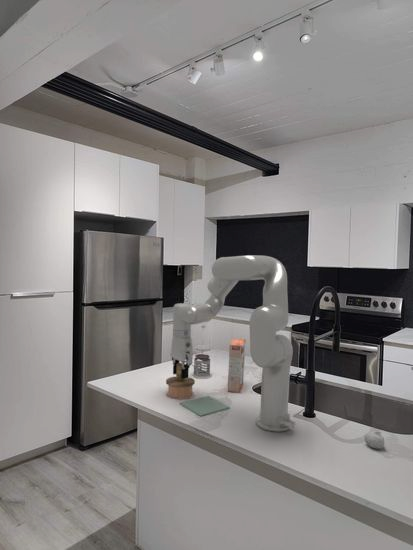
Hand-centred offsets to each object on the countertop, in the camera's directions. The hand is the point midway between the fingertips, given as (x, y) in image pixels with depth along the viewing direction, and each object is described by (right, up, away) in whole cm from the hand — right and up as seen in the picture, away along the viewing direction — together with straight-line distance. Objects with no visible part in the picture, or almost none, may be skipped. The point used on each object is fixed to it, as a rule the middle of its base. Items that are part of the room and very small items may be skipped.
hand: (180, 375), depth 161 cm
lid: (0, -3, 0) cm, 3 cm away
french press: (+8, -7, +26) cm, 28 cm away
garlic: (+64, -12, -40) cm, 76 cm away
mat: (+10, -9, -12) cm, 18 cm away
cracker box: (+24, -9, +11) cm, 28 cm away
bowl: (0, -8, 0) cm, 8 cm away
